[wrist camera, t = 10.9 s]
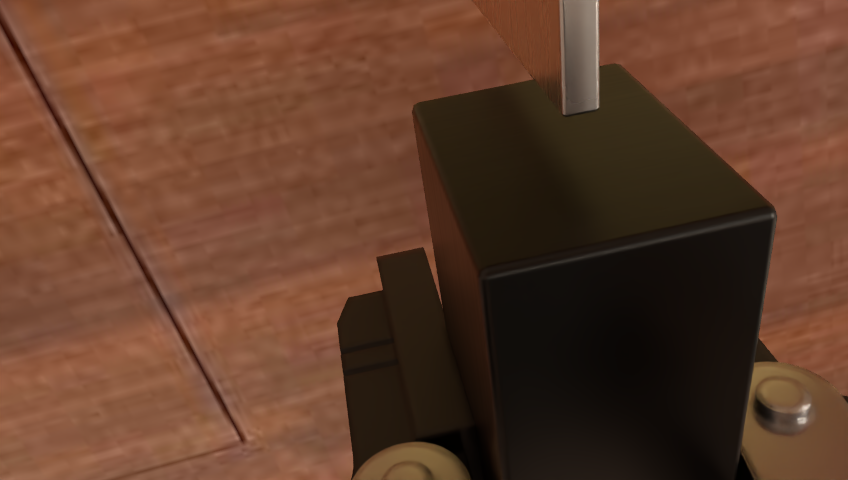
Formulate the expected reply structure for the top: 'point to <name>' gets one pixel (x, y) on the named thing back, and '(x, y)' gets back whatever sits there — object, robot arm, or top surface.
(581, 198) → the knife
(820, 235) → the top surface
